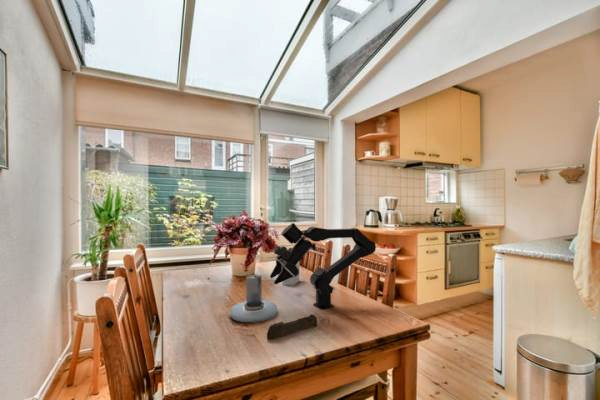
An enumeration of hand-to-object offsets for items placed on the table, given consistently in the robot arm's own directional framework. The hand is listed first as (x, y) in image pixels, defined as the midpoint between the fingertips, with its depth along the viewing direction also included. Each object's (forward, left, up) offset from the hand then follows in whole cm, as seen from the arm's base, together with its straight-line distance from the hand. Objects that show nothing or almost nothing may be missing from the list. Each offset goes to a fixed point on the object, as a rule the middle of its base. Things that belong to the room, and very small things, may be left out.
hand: (272, 280), depth 114 cm
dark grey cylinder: (+2, +7, -10) cm, 12 cm away
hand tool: (-20, +2, -13) cm, 24 cm away
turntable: (+2, +7, -13) cm, 15 cm away
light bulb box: (+32, -27, -13) cm, 44 cm away
